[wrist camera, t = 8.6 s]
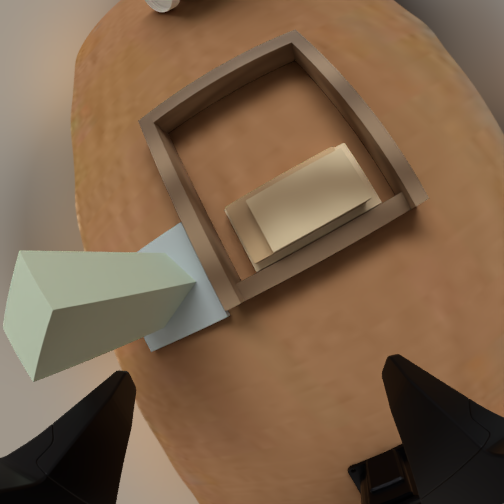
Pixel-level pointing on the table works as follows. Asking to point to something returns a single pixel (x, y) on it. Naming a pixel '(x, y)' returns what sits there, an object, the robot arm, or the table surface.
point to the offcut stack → (301, 206)
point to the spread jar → (162, 4)
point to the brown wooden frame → (190, 204)
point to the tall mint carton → (87, 304)
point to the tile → (197, 300)
